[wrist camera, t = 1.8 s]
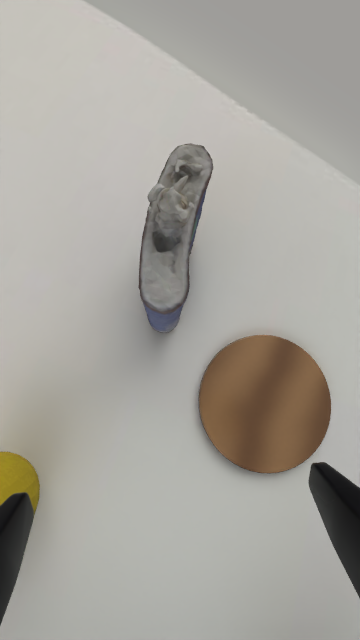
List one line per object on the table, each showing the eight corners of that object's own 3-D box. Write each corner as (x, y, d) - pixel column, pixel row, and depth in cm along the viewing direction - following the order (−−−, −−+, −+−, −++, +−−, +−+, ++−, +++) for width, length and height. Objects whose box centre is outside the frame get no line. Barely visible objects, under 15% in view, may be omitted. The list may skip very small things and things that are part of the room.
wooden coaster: (336, 354, 22) (341, 354, 21) (313, 486, 20) (318, 489, 20) (216, 321, 22) (217, 319, 21) (183, 450, 20) (184, 452, 19)
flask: (176, 336, 21) (186, 309, 11) (139, 328, 21) (113, 294, 11) (197, 228, 23) (225, 111, 12) (163, 221, 23) (161, 97, 12)
